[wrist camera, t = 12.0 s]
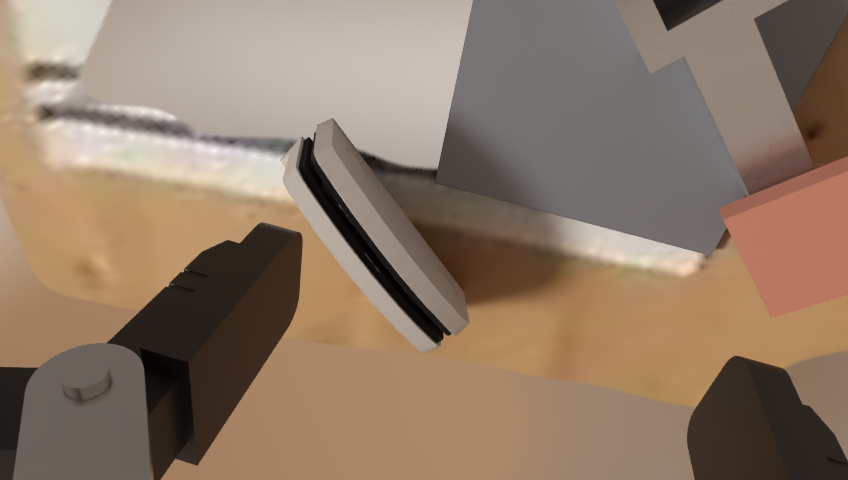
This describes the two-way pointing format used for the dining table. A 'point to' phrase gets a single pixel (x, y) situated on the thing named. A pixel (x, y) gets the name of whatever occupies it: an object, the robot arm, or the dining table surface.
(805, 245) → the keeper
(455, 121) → the board
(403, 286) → the grey arched slotted block
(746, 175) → the grey long bar
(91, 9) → the dining table surface
